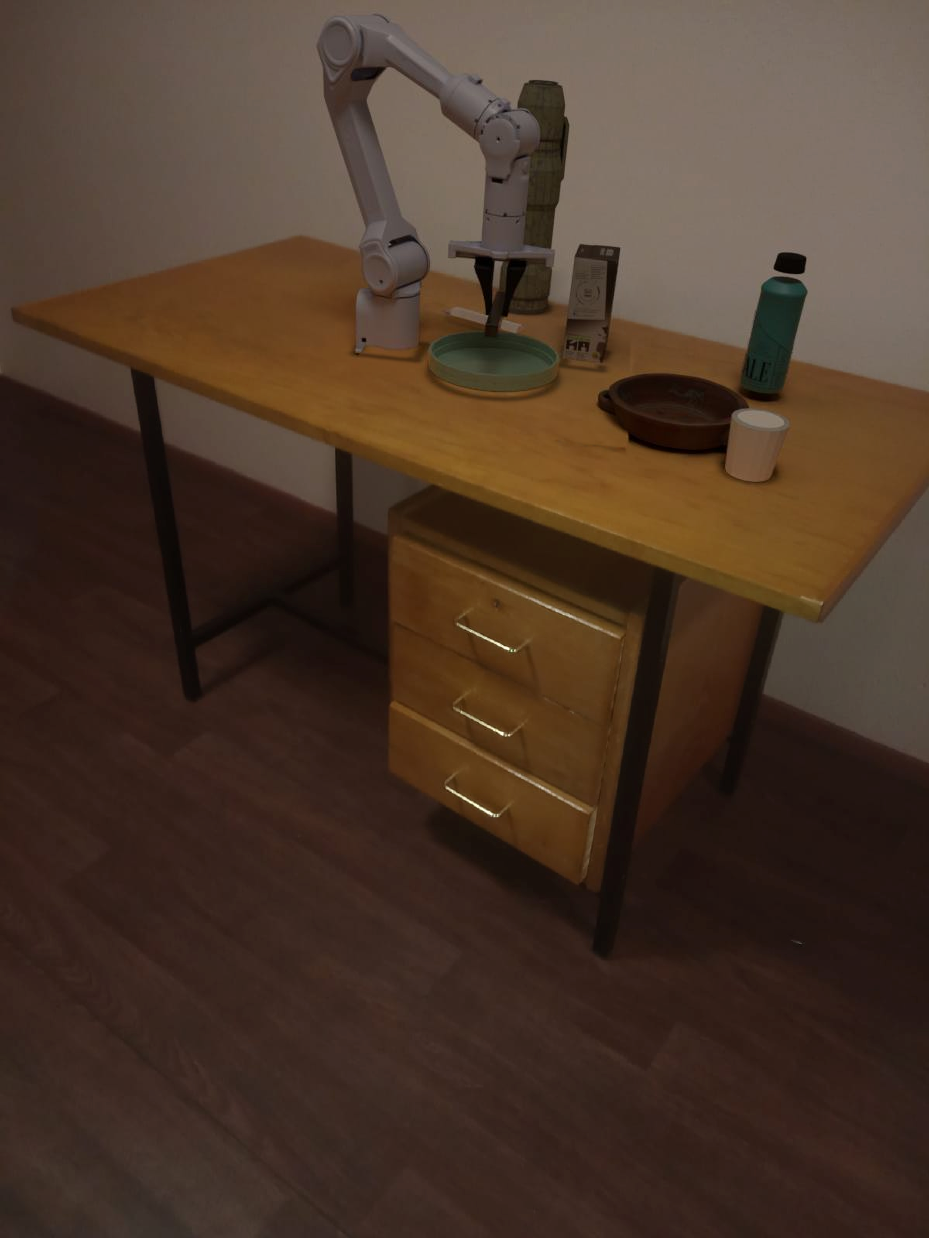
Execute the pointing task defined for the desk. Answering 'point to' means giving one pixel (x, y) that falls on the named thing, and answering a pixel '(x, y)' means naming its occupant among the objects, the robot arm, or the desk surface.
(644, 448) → the desk surface
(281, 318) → the desk surface
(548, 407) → the desk surface
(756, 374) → the beverage bottle
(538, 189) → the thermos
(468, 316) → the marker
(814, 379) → the desk surface
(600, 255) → the coffee box
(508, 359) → the green round tray
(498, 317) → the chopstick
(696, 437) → the dish
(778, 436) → the white short cylinder
